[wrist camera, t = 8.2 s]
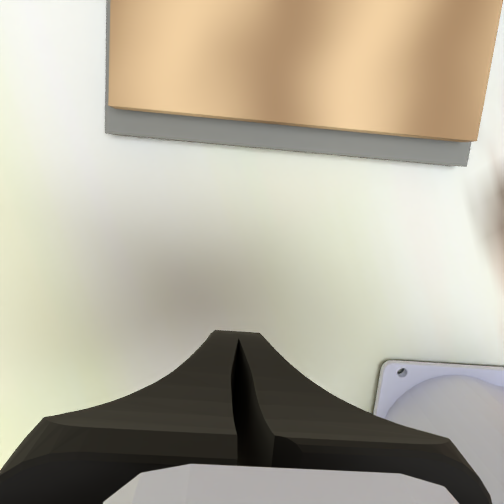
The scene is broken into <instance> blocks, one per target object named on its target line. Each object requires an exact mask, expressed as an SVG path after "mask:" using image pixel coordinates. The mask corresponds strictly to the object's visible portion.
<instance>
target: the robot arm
mask: <svg viewBox="0 0 504 504" xmlns="http://www.w3.org/2000/svg"><path fill="white" fill-rule="evenodd" d="M401 368H404V371H403V372H402V373H400V374H398V373H397V372H398V370H399V369H401ZM0 504H504V367H493V366H478V365H462V364H446V363H430V362H414V361H398V360H389V361H386V362H385V363H384V364H383V365H382V367H381V371H380V377H379V383H378V389H377V395H376V401H375V406H374V412H373V414H371V413H369V412H366V411H364V410H362V409H359V408H357V407H355V406H353V405H351V404H349V403H347V402H345V401H343V400H341V399H339V398H338V397H336V396H334V395H332V394H331V393H329V392H327V391H326V390H324V389H323V388H321V387H320V386H318V385H316V384H315V383H313V382H312V381H311V380H309V379H308V378H307V377H305V376H304V375H303V374H302V373H300V372H299V371H298V370H297V369H295V368H294V367H293V366H292V365H291V364H290V363H289V362H287V361H286V360H285V359H284V358H283V357H282V356H281V355H280V354H279V353H278V352H277V351H276V350H275V349H274V348H273V347H272V346H271V345H270V343H269V342H268V341H267V340H266V339H265V338H264V337H263V336H262V335H261V334H260V333H252V332H237V331H221V330H215V331H213V332H212V333H211V334H210V336H209V337H208V338H207V340H206V341H205V342H204V343H203V344H202V345H201V347H200V348H199V349H198V350H197V351H196V352H195V353H194V354H193V355H192V356H191V357H190V358H189V359H187V360H186V361H185V362H184V363H183V364H181V365H180V366H179V367H178V368H177V369H176V370H174V371H173V372H171V373H170V374H169V375H167V376H165V377H164V378H162V379H160V380H159V381H157V382H155V383H153V384H151V385H149V386H147V387H145V388H143V389H141V390H139V391H137V392H134V393H132V394H130V395H128V396H125V397H123V398H120V399H117V400H114V401H111V402H108V403H105V404H102V405H98V406H95V407H91V408H88V409H83V410H79V411H74V412H69V413H64V414H60V415H55V416H49V417H44V418H43V419H42V420H41V421H40V422H39V423H38V425H37V426H36V427H35V428H34V429H33V430H32V431H31V432H30V433H29V434H28V435H27V437H26V438H25V439H24V440H23V441H22V443H21V444H20V445H19V446H18V448H17V449H16V450H15V451H14V453H13V454H12V455H11V457H10V458H9V459H8V461H7V462H6V463H5V465H4V466H3V467H2V469H1V470H0Z"/></svg>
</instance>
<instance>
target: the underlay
mask: <svg viewBox="0 0 504 504" xmlns="http://www.w3.org/2000/svg"><path fill="white" fill-rule="evenodd" d="M109 50H110V0H107V5H106V92H105V133H108V134H115V135H125V136H136V137H147V138H158V139H169V140H179V141H190V142H201V143H212V144H223V145H233V146H244V147H255V148H266V149H277V150H287V151H298V152H309V153H320V154H331V155H341V156H352V157H363V158H374V159H384V160H395V161H406V162H417V163H428V164H438V165H449V166H465V167H467V162H468V157H469V151H470V146H471V142H454V141H444V140H434V139H423V138H413V137H402V136H392V135H382V134H371V133H361V132H351V131H340V130H330V129H319V128H309V127H299V126H288V125H278V124H267V123H257V122H247V121H236V120H226V119H216V118H205V117H195V116H184V115H174V114H164V113H153V112H143V111H132V110H122V109H115V108H113V107H111V106H109V105H108V100H109Z"/></svg>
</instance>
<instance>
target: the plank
mask: <svg viewBox="0 0 504 504" xmlns="http://www.w3.org/2000/svg"><path fill="white" fill-rule="evenodd" d="M502 3H503V0H110V50H109V100H108V105H109V106H111V107H113V108H115V109H122V110H132V111H143V112H153V113H164V114H174V115H184V116H195V117H205V118H216V119H226V120H236V121H247V122H257V123H267V124H278V125H288V126H299V127H309V128H319V129H330V130H340V131H351V132H361V133H371V134H382V135H392V136H402V137H413V138H423V139H434V140H444V141H454V142H472V141H477V137H478V132H479V126H480V121H481V116H482V110H483V105H484V100H485V94H486V89H487V84H488V78H489V73H490V67H491V62H492V57H493V51H494V46H495V41H496V35H497V30H498V25H499V19H500V14H501V8H502Z"/></svg>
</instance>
